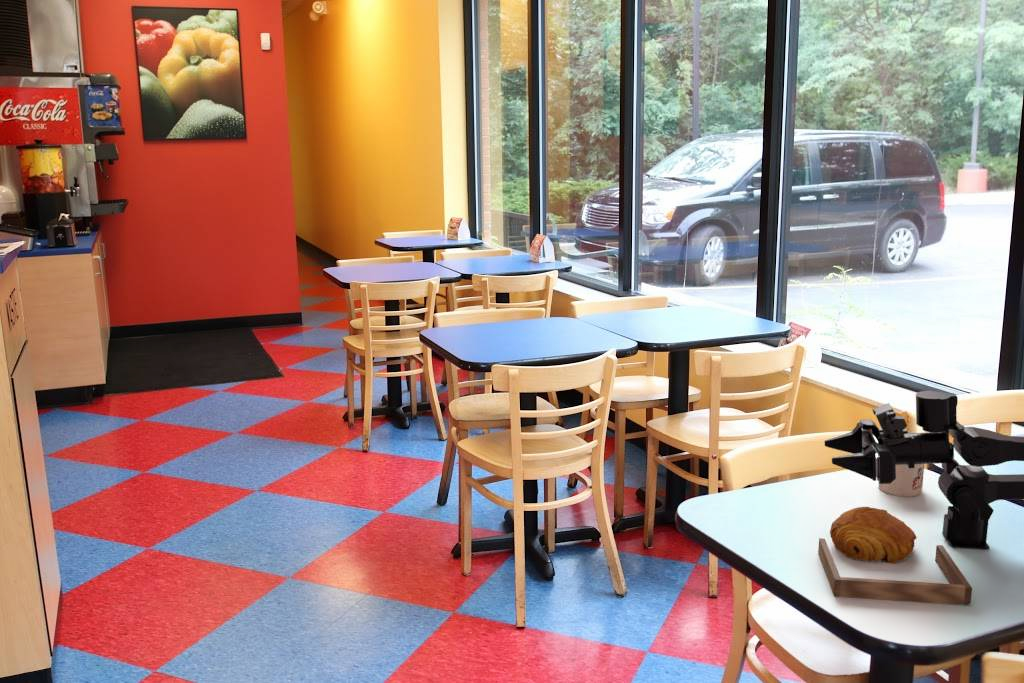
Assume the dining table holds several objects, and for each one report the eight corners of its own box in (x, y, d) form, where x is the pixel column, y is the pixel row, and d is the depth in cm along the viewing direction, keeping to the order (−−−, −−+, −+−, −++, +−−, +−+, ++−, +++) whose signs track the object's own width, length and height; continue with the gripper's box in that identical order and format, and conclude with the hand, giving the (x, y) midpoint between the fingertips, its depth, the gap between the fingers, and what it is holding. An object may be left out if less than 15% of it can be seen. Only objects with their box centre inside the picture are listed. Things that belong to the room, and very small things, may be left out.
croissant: (818, 561, 164) (817, 523, 162) (850, 524, 175) (849, 487, 173) (899, 583, 155) (899, 543, 153) (927, 542, 166) (928, 503, 164)
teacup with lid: (921, 500, 186) (926, 447, 184) (874, 493, 190) (878, 441, 188) (925, 481, 196) (929, 431, 194) (880, 475, 201) (884, 425, 198)
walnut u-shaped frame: (941, 560, 159) (942, 545, 158) (970, 605, 144) (972, 588, 143) (818, 553, 162) (819, 538, 162) (833, 596, 147) (835, 579, 146)
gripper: (904, 392, 172) (819, 396, 175) (929, 423, 154) (834, 427, 157) (905, 446, 174) (821, 449, 177) (930, 483, 156) (836, 486, 160)
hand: (828, 451), depth 168 cm, fingers open, 9 cm apart
